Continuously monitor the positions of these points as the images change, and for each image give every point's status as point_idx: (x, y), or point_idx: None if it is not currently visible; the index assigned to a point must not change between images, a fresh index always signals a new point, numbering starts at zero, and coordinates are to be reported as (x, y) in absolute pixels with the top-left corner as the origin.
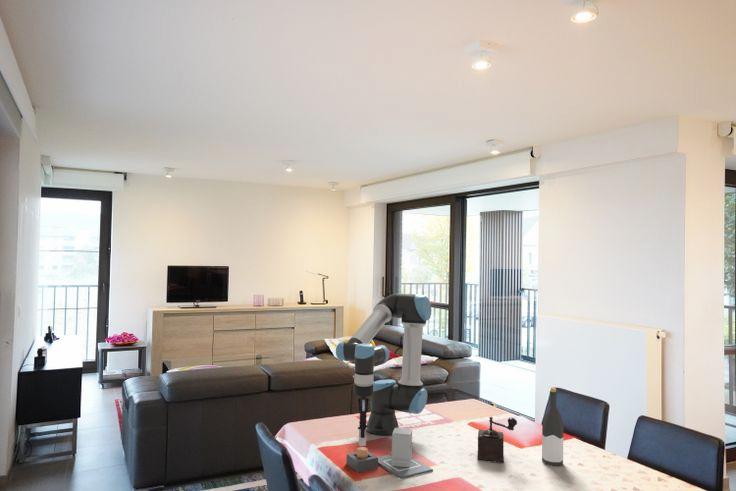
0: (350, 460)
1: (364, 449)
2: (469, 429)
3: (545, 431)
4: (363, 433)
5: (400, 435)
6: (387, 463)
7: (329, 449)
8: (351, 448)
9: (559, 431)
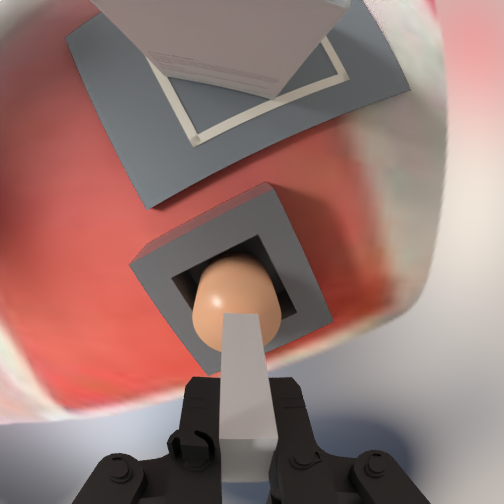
0: None
1: (241, 305)
2: None
3: None
4: (305, 421)
5: None
6: (234, 119)
7: (65, 383)
8: (27, 303)
9: None
